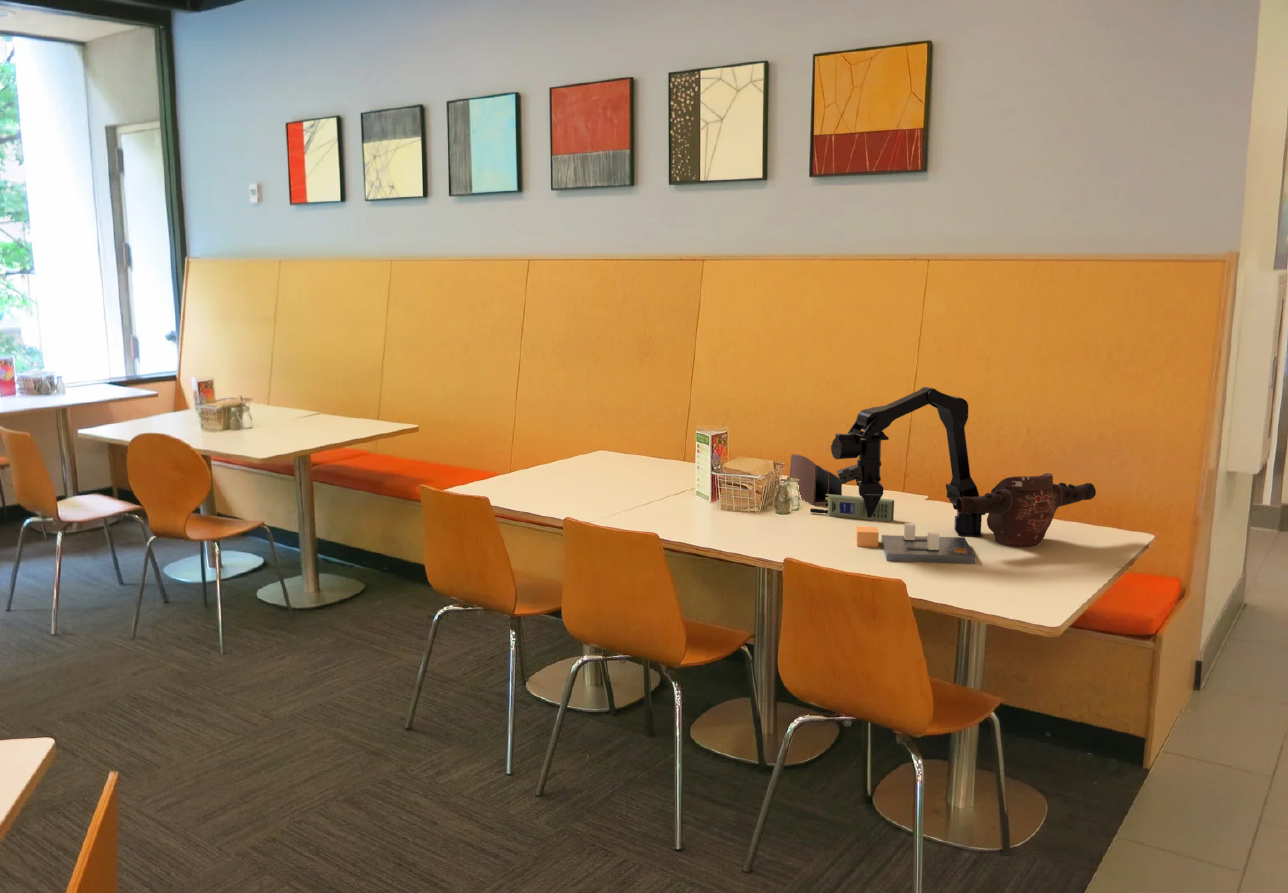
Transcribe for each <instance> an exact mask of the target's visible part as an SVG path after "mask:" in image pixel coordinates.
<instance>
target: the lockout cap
mask: <svg viewBox="0 0 1288 893" xmlns="http://www.w3.org/2000/svg"><path fill="white" fill-rule="evenodd" d="M855 543H857V544H856V546H857V547H870V548H872V547H873V548H875V547H876V548H878V547H879V529H878V527H877V526H856V528H855Z"/></svg>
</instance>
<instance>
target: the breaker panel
mask: <svg viewBox="0 0 1288 893" xmlns="http://www.w3.org/2000/svg"><path fill="white" fill-rule="evenodd" d="M927 538H928V535H927V536H925V535H923V536H922V535H920V536H918V535H915V540H905V539H904V535H891V534H889V535H888V534H881V540H880V543H881V545H882V550H883V553H884V556H885V559H886V561H887V562H909V563H910V562H912V563H935V564H936V563H940V564H941V563H942V564H966V565H967V564H968V565H969V564H971V565H975V564H976V555H975V553H974V551H973V549H972V548H971V546H970V544H969V543H968V541H967V539H966V537H965V536H963V537H958V536H957V537H956V536H939V550H928V548H927Z"/></svg>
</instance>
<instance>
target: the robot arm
mask: <svg viewBox="0 0 1288 893" xmlns="http://www.w3.org/2000/svg"><path fill="white" fill-rule="evenodd" d="M928 405H929V406H931V407H932V408H933V407H934V408H935V409H936V410H937V413H938V416H939V419H940V420H941V422H942V424H943V426H944V427H945V431H946V436H947V445H948V453H949V459H950V460H949V461H950V468H951V480H950V483H946V484H945V489H946V498H948V500H949V502H950V503H951V504H952V507H953V510H955V511H956V512H957V513H956V515H954V528H953V530H954V532H955V533H956V534H957V536H963V537H965V536H966V537H969V536H970V537H971V536H972V537H982V536H983V533H982V518H983V516H985V515H986V514H987V513H969V514H963V515H962V513H961V514H960V513H958V511H957V507H956V505H957V499H958V498H960V497H965V496H968V497H979V496H980V494H979V490H978V486H977V485H976V483H975V482H974V479H973V478H972V475H971V469H970V463H969V462H970V461H969V455H968V453H969V452H968V445H967V439H966V438H967V437H966V431H965V430H966V429H965V428H966V427H965V426H966V425H967V422H968V421H969V420H968V419H969V402H968V401H967V400H965V399H964V398H963V397H958V396H953V395H950V394H946V393H944V392H941V391H940V390H938V389H936V388H933V387H927V386H923V387H921V388H920V389H918V390H916V391H915V392H912V393H910V394H908V395H906V396H903V397H901V398H899V399H896V400H894V401H893V402H890V403H888V404H886V405H881V406H873V407H869V408H865V409H862V410H861V411H859V412H858V414H857V417H856V420H855V422H854V423H853V424H852V425H851V427H850V429H849V430H848V432H847V433H835V436H834V437H835V438H833V440H832V442H831V445H830V451H831V455H832V457H833V458H834V460H847V459H857V458H858V459H857V461H856V464H854V465H849V466H847V467H844V468H843V467H842V468H841V469H837V471H836V473H837V477H839V479H840V482H841V484H842V485H844V484H847V483H849V482H852V481H855V483H856V485H857V486H858V494H859V497H862V498H863V500H864V506H865V509H866V512H867V517H868V518H871V517H872V515H873V513H874V511H875V509H876V507H877V505H878V503H879V501H880V499H882V497H883V495H884V485H883V484H882V483H881V480H882V476H881V466H882V460H881V457H882V454H881V453H882V441H888V440H890V438H889V436H887V434H885V433H884V430H885V429H887V428H888V427H890V426H891V424H892V423H893V422H894V421H896V420H897V419H900V418H901V417H904V416H906V415H908V414H910V413H913V412H915V411H916V410H919V409H921V408H924V407H926V406H928Z"/></svg>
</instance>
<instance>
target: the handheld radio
mask: <svg viewBox="0 0 1288 893" xmlns="http://www.w3.org/2000/svg"><path fill="white" fill-rule="evenodd" d="M826 495H827V496H828V497H826V500H828V503H825V505H824V507H826V508H827V509H822V508H813V507H811V508H810V510H809V511H810V513H811V514H813V513H814V514H826V515H827V517H832V516H834V517H835V518H843V517H847V519H854V518H858V519H857V520H864V519H868V520H867V521H875V520H879V521H878V522H886V521H893V522H894V515H895V514H894V513H895V500H894V499H890V498H888V499H887V498H881V499H880V501H879V503H878V505H877V507H876V509H875V511H874V513H873V515H872V517H871V518H868V517H867V512H866V509H865V506H864V500H863V498H862V497H861V496H852V495H844V494H842V495H831V494H826ZM834 517H833V518H834Z"/></svg>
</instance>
